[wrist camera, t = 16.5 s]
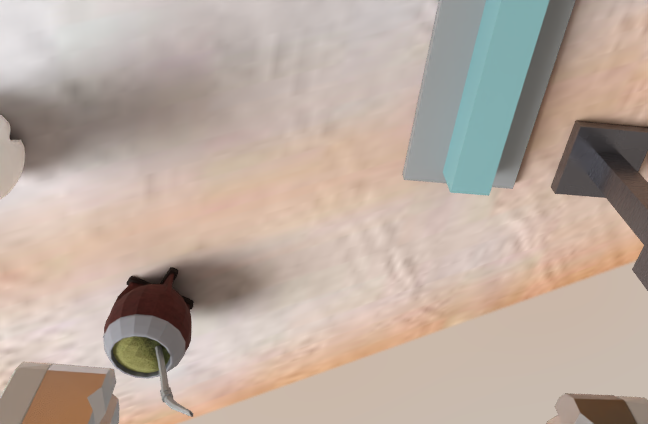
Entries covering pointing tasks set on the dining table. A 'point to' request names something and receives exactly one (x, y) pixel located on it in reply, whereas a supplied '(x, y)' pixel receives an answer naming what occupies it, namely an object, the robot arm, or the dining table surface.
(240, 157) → the dining table surface
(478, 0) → the mat
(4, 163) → the water bottle
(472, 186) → the rail
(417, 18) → the dining table surface
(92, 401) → the robot arm
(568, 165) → the forked support stand
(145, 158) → the dining table surface
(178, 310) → the mate gourd
